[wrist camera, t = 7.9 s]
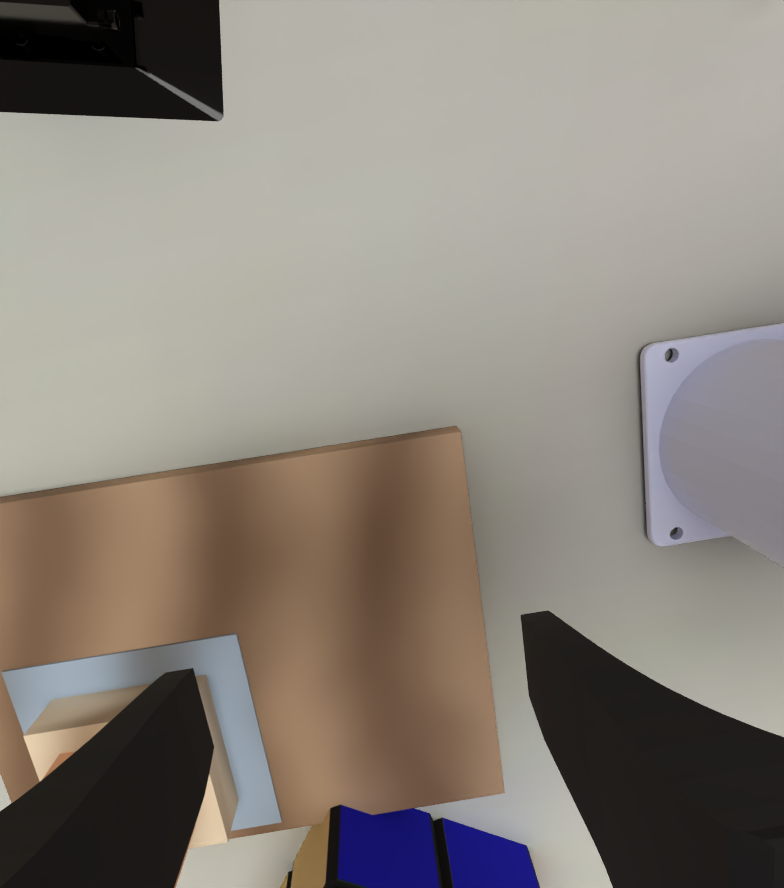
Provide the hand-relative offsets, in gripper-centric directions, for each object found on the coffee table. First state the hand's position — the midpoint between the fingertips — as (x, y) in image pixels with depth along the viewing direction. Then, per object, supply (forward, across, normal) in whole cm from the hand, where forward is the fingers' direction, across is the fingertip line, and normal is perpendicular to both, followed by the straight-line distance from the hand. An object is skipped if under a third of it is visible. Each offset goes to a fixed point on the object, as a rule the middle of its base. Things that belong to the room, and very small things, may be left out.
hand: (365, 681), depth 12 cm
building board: (+10, +6, +5) cm, 13 cm away
